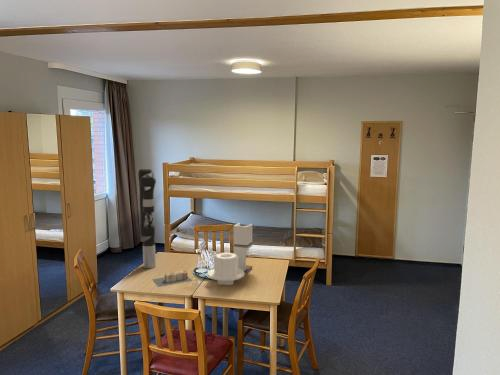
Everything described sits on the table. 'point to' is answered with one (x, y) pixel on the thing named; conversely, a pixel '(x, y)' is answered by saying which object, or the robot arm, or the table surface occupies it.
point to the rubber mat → (162, 282)
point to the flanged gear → (226, 269)
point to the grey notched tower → (242, 245)
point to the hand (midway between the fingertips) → (149, 229)
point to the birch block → (176, 276)
